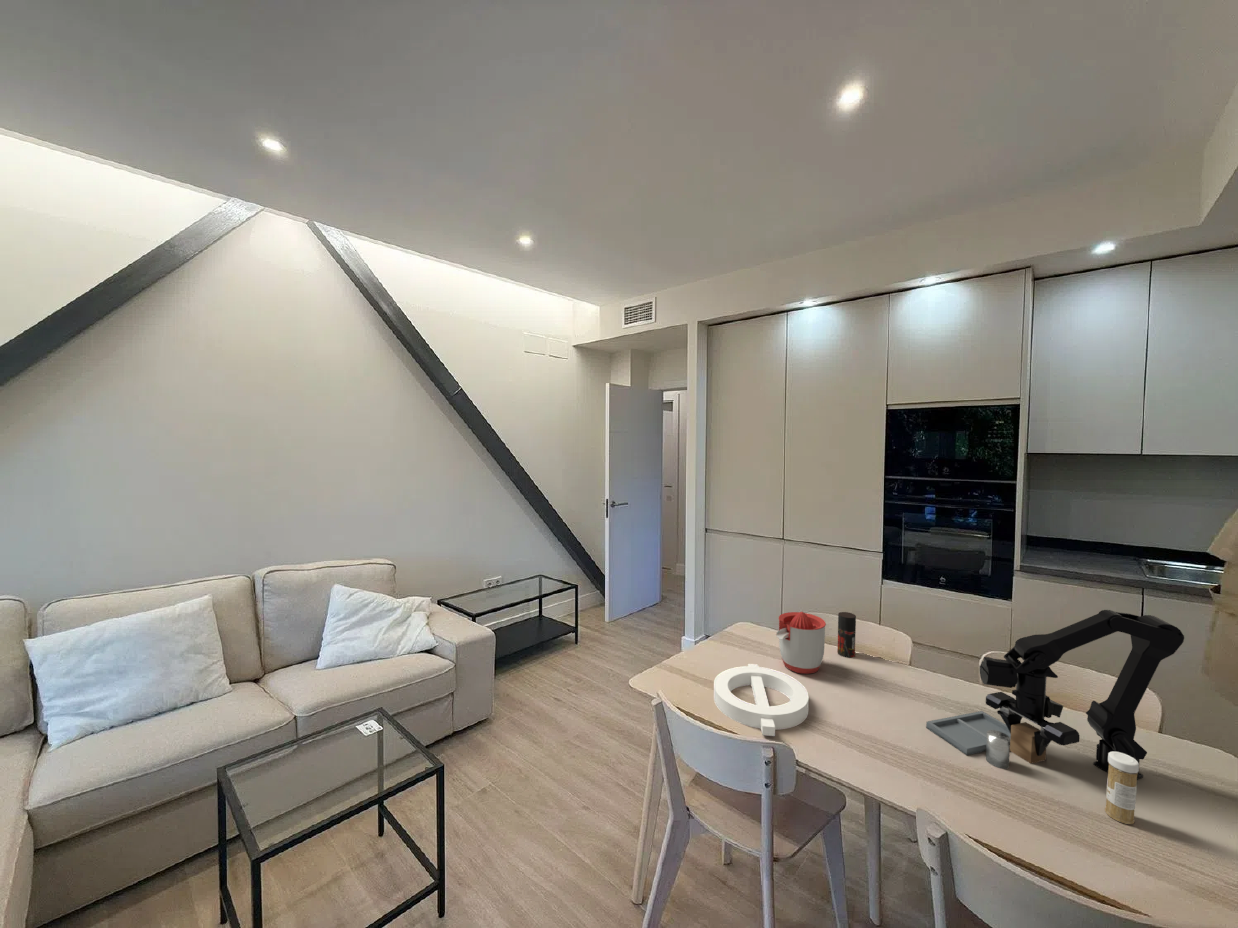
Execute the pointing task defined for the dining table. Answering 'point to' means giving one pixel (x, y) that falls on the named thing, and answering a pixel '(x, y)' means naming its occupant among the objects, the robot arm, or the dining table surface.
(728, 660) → the dining table surface
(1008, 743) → the steel cylinder
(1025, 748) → the walnut block
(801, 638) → the citrus juicer
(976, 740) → the tray
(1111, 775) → the sprinkles bottle
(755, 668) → the ring with crossbar
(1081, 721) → the dining table surface
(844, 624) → the deodorant
